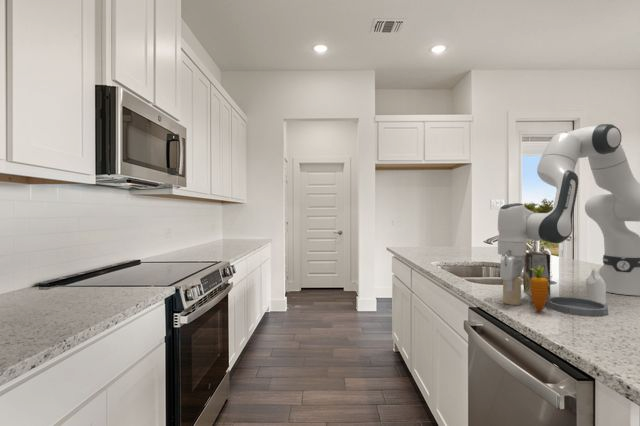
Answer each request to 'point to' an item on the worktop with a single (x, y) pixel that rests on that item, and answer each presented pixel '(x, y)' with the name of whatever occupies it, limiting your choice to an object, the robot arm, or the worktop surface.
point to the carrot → (539, 289)
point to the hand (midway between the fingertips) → (511, 288)
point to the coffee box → (531, 263)
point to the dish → (577, 306)
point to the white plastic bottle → (596, 287)
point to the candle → (512, 292)
